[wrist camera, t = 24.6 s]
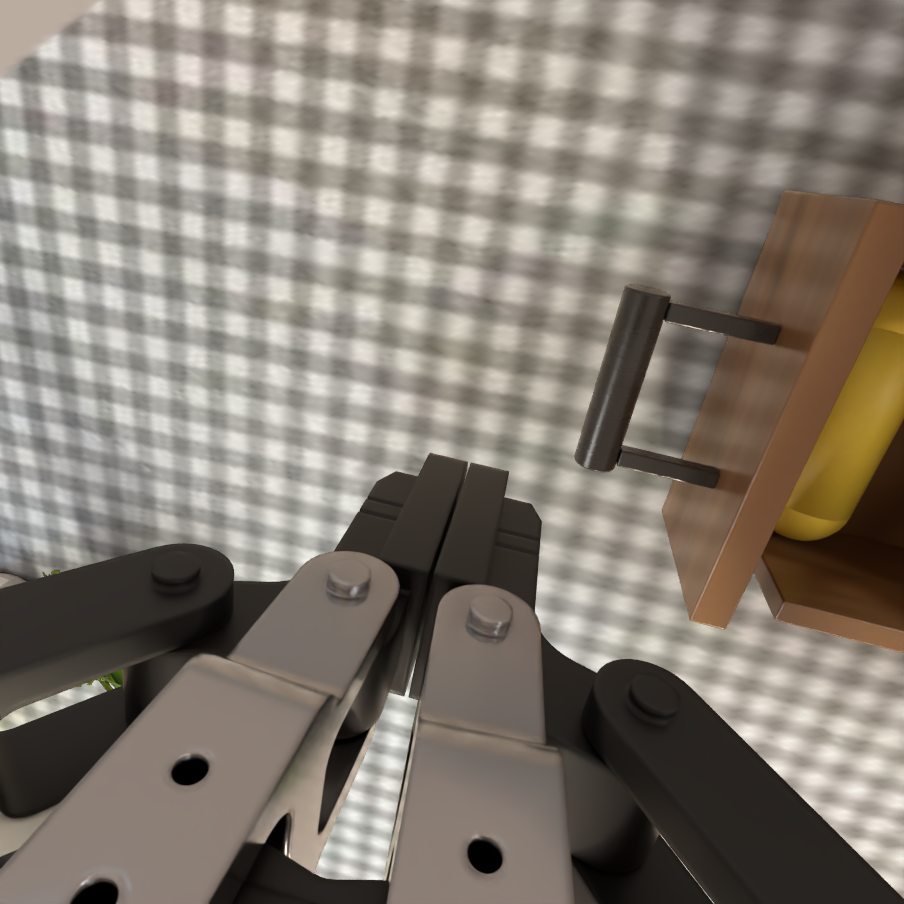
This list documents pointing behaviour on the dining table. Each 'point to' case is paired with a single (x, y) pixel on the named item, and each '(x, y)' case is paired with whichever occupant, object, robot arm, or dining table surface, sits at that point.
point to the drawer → (772, 425)
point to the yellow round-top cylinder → (853, 431)
